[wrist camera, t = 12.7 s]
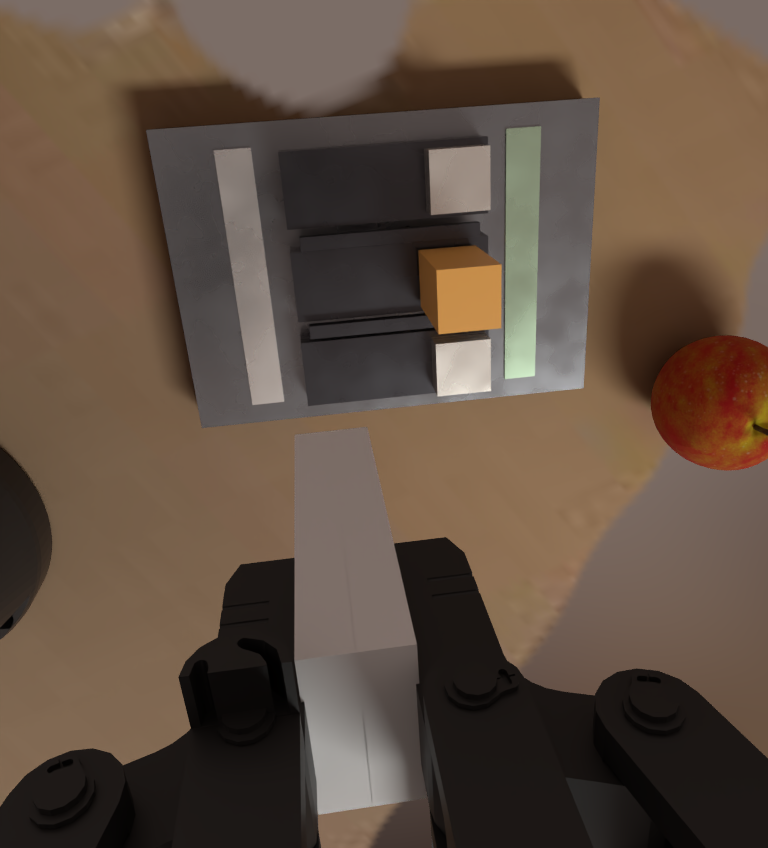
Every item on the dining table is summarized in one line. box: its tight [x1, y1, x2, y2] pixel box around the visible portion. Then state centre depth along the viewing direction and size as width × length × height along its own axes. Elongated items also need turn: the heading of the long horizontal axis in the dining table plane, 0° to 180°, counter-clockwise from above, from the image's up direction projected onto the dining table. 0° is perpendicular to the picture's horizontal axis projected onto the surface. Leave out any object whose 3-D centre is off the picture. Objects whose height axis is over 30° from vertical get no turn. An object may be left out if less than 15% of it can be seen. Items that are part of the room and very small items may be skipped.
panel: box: [146, 98, 600, 428], centre depth 33 cm, size 20×14×5 cm
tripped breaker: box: [418, 245, 502, 334], centre depth 30 cm, size 3×3×4 cm
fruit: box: [651, 335, 768, 470], centre depth 36 cm, size 7×7×8 cm
